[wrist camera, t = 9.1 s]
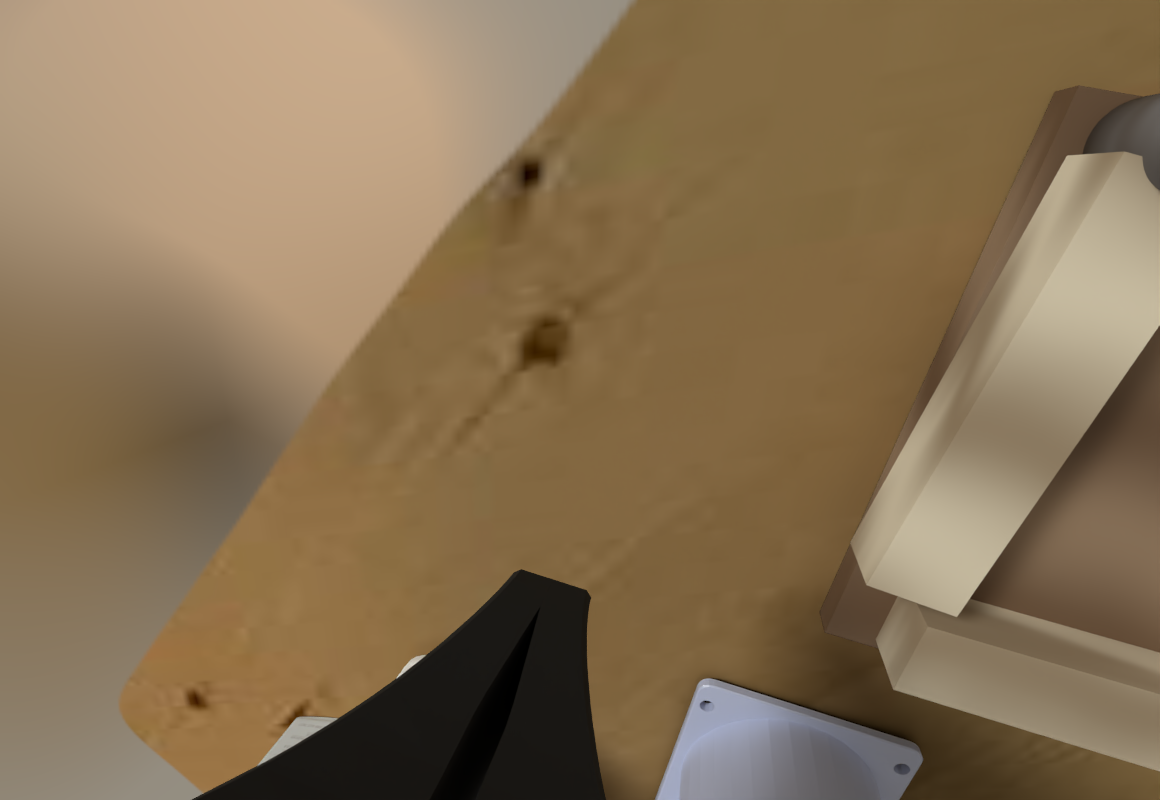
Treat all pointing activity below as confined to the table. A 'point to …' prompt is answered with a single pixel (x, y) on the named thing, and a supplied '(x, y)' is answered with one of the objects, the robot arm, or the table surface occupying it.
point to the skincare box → (297, 734)
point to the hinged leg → (1027, 371)
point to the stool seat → (1044, 542)
